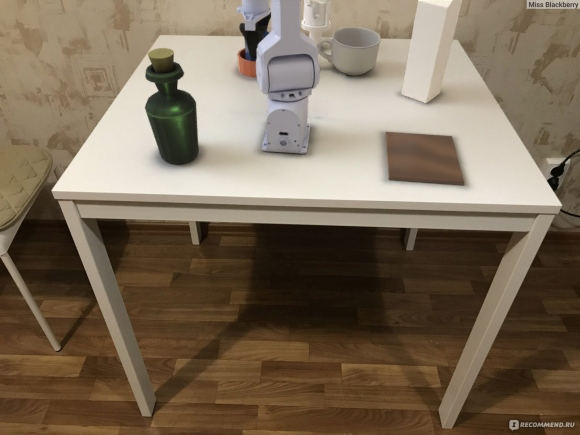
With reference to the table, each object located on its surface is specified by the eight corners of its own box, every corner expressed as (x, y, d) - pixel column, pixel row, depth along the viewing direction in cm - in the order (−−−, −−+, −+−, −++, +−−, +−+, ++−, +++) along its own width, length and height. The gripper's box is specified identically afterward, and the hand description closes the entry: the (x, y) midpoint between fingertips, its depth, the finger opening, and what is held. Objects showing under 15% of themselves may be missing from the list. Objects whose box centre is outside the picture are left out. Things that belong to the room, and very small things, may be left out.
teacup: (375, 61, 109) (380, 27, 104) (377, 81, 101) (382, 45, 96) (317, 58, 110) (318, 24, 105) (314, 78, 102) (316, 43, 97)
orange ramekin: (275, 80, 101) (274, 63, 99) (235, 78, 102) (233, 60, 99) (280, 63, 108) (280, 46, 105) (242, 61, 109) (241, 44, 106)
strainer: (295, 49, 114) (296, -16, 104) (312, 41, 118) (315, -22, 108) (317, 57, 111) (320, -10, 101) (334, 48, 115) (339, -17, 105)
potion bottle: (194, 170, 77) (177, 66, 64) (148, 165, 78) (123, 62, 65) (209, 143, 82) (195, 44, 70) (166, 139, 83) (145, 40, 71)
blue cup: (267, 74, 103) (266, 38, 97) (244, 73, 103) (242, 37, 98) (271, 64, 106) (270, 29, 101) (249, 63, 107) (247, 28, 101)
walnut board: (463, 185, 74) (464, 182, 73) (388, 179, 75) (389, 176, 74) (451, 138, 84) (452, 135, 84) (385, 134, 85) (385, 131, 85)
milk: (426, 104, 94) (452, -12, 79) (400, 94, 97) (420, -19, 82) (440, 93, 97) (467, -20, 82) (415, 84, 100) (437, -26, 85)
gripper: (242, -25, 99) (246, 38, 108) (227, -4, 88) (233, 64, 97) (274, -24, 98) (275, 40, 107) (263, -3, 87) (266, 66, 97)
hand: (257, 51), depth 102 cm, fingers closed on blue cup, 5 cm apart
